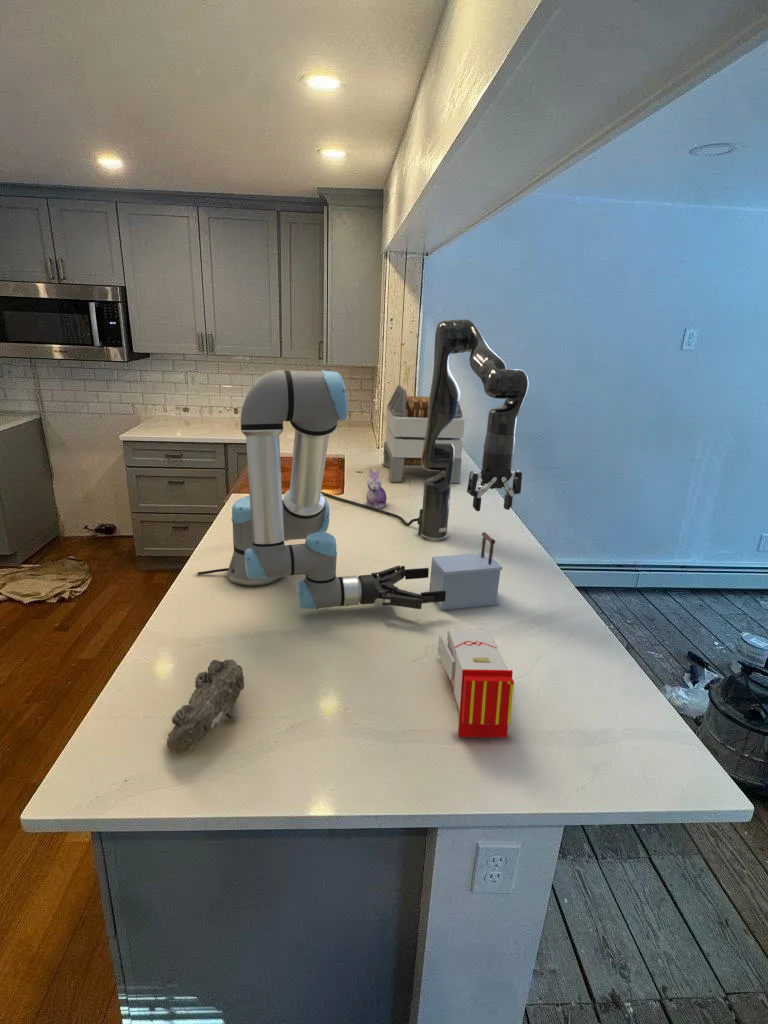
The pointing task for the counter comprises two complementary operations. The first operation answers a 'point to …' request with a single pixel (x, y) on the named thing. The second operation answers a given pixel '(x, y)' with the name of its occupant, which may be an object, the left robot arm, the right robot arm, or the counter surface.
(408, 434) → the grey slatted crate
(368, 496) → the figurine
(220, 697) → the fossil
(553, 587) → the counter surface
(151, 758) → the counter surface
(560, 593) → the counter surface
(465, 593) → the chest
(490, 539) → the lid
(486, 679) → the toy
